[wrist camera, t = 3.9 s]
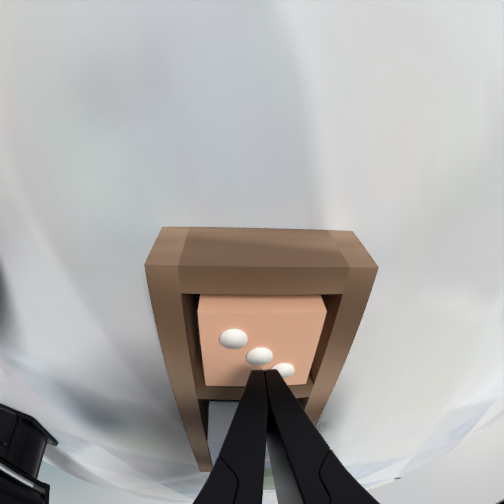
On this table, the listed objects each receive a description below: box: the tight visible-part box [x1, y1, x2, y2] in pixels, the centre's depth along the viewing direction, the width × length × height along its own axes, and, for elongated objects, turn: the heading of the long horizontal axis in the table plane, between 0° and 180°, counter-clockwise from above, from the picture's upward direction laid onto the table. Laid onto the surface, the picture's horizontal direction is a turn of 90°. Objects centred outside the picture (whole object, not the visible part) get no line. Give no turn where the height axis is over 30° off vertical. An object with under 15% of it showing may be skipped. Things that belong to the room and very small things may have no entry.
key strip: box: [144, 227, 378, 472], centre depth 14 cm, size 19×7×2 cm, turn 177°
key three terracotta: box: [198, 294, 327, 386], centre depth 11 cm, size 4×4×2 cm
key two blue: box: [208, 401, 271, 468], centre depth 12 cm, size 4×4×2 cm
